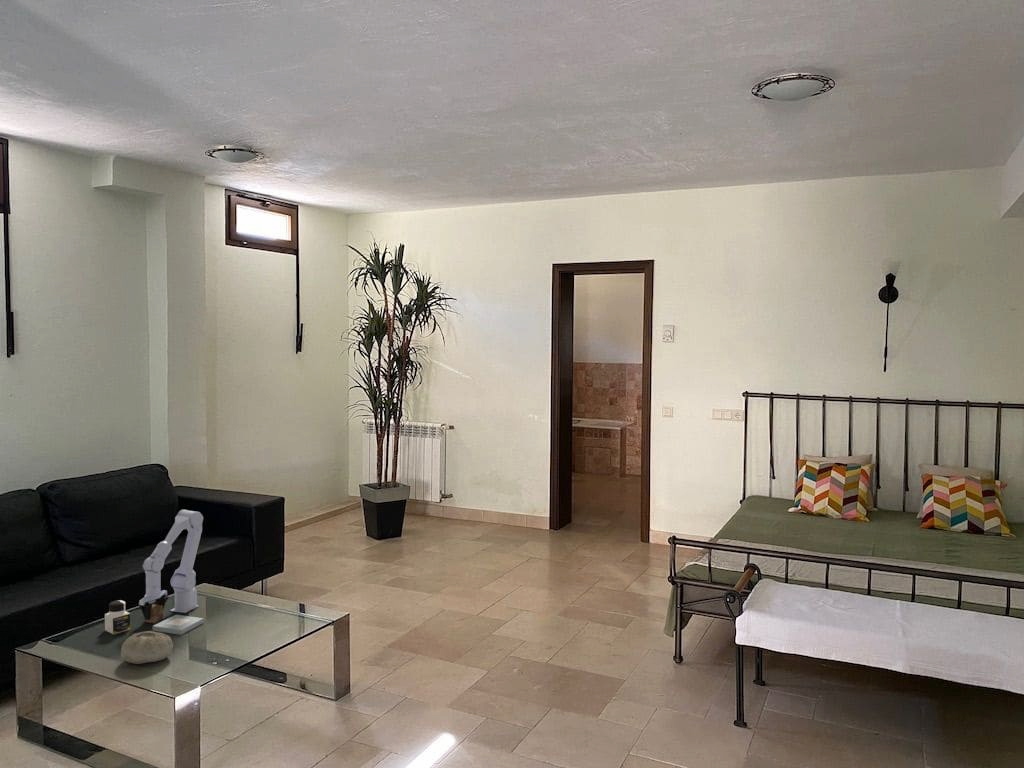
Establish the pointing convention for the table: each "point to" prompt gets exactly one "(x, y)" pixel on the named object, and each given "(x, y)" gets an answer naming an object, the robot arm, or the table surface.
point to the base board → (178, 624)
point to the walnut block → (156, 613)
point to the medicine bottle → (117, 618)
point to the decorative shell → (146, 647)
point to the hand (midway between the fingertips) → (153, 616)
